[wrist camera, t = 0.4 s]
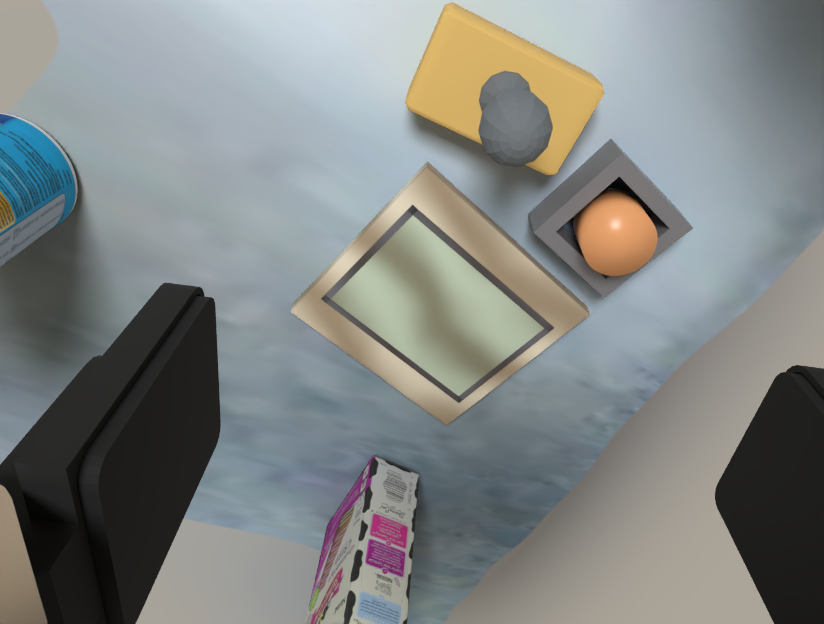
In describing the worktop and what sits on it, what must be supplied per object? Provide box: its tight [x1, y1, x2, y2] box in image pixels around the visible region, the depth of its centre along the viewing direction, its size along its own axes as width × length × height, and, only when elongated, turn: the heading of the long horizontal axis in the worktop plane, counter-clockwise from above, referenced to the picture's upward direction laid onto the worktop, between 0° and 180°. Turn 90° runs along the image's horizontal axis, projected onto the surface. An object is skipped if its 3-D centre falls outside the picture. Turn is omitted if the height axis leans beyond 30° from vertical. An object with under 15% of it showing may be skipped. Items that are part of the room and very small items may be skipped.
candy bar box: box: [305, 456, 419, 624], centre depth 51 cm, size 11×5×16 cm, turn 153°
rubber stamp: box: [405, 2, 604, 175], centre depth 32 cm, size 10×6×12 cm, turn 66°
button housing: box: [529, 139, 693, 297], centre depth 40 cm, size 7×7×3 cm
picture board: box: [290, 162, 590, 425], centre depth 45 cm, size 15×16×1 cm
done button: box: [573, 189, 658, 276], centre depth 39 cm, size 4×4×4 cm
